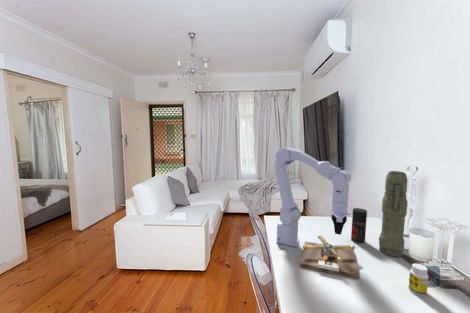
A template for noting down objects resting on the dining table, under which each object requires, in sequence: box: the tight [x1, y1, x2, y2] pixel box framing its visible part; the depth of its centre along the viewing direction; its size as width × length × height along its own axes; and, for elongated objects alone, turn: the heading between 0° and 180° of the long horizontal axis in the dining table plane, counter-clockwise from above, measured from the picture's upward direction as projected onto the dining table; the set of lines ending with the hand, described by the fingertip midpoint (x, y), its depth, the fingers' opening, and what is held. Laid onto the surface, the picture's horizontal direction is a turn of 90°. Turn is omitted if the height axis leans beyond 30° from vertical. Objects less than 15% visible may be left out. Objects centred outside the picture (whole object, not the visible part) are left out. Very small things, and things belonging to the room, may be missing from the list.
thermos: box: [378, 170, 409, 258], centre depth 102 cm, size 9×12×35 cm
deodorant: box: [350, 207, 368, 244], centre depth 114 cm, size 6×6×15 cm
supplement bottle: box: [408, 263, 429, 297], centre depth 77 cm, size 5×5×8 cm
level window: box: [318, 260, 339, 272], centre depth 88 cm, size 7×3×2 cm, turn 69°
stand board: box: [299, 241, 360, 280], centre depth 97 cm, size 20×20×2 cm
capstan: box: [302, 234, 356, 264], centre depth 97 cm, size 21×21×4 cm
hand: (337, 233), depth 97 cm, fingers closed
